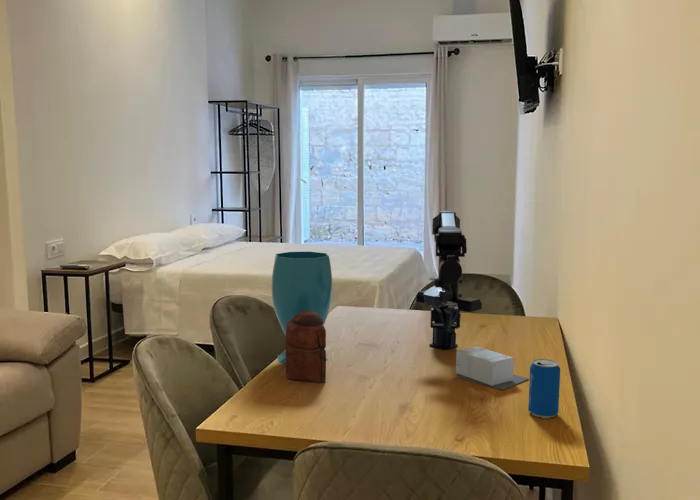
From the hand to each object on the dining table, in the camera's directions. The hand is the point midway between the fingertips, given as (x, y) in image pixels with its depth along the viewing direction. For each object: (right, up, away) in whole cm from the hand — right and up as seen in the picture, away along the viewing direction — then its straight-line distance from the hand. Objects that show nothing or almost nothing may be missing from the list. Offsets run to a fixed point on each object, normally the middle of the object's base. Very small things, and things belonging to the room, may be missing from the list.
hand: (447, 330), depth 181 cm
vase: (-41, -9, +7) cm, 42 cm away
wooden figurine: (-38, -11, -11) cm, 41 cm away
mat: (+11, -11, -10) cm, 18 cm away
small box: (+4, -7, -5) cm, 10 cm away
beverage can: (+16, -15, -34) cm, 41 cm away
